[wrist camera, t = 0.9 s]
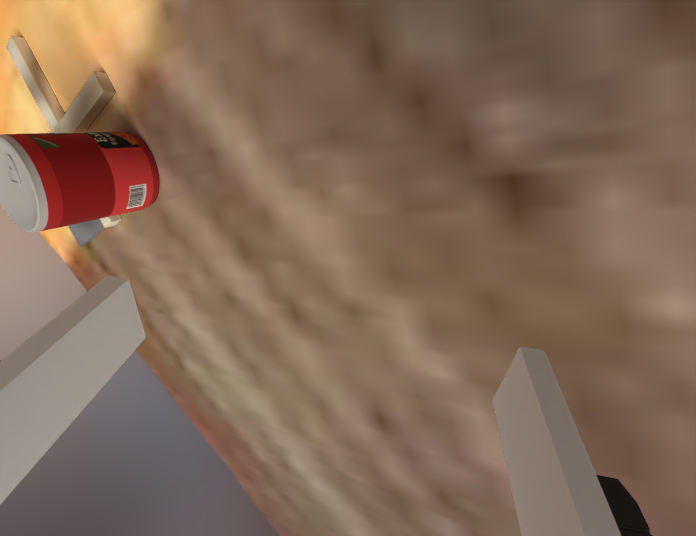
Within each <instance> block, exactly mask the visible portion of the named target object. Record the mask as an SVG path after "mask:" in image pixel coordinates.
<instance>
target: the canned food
mask: <svg viewBox="0 0 696 536" xmlns="http://www.w3.org/2000/svg"><path fill="white" fill-rule="evenodd" d="M158 191H159V176H158V170H157V167H156V163H155V161H154V158H153V156H152V154H151V153H150V151H149V149H148V148H147V147H146V145H145V144H144V143H143V142H142V141H141V140H140V139H139V138H137V137H136V136H133V135H131V134H127V133H124V132H97V133H41V134H5V135H0V204H1V206H2V207H3V209H4V210H5V212H6V213H7V214H8V216H9V217H10V218H11V220H12V221H13V222H14V223H15V224H16V225H17V226H18V227H20V228H21V229H22V230H24V231H27V232H35V231H44V230H48V229H54V228H59V227H63V226H68V225H73V224H77V223H82V222H87V221H91V220H96V219H100V218H105V217H110V216H114V215H119V214H123V213H128V212H133V211H137V210H142V209H144V208H146V207H148V206H149V205H151V204H152V203H153V202H154V201H155V200H156V198H157V195H158Z"/></svg>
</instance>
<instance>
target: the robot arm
mask: <svg viewBox="0 0 696 536" xmlns="http://www.w3.org/2000/svg"><path fill="white" fill-rule="evenodd" d="M145 338H146V336H145V333H144V330H143V326H142V323H141V319H140V316H139V313H138V309H137V306H136V302H135V299H134V296H133V292H132V289H131V286H130V282H129V279H125V278H119V277H113V276H106V277H105V278H104V279H103V280H101V281H100V282H99V283H98V284H96V285H95V286H94V287H93V288H91V289H90V290H89V291H88V292H86V293H85V294H84V295H83V296H81V297H80V298H79V299H78V300H76V301H75V302H74V303H73V304H71V305H70V306H69V307H68V308H66V309H65V310H64V311H63V312H61V313H60V314H59V315H58V316H57V317H56V318H54V319H53V320H51V321H50V322H49V323H48V324H47V325H45V326H44V327H43V328H42V329H40V330H39V331H38V332H36V333H35V334H34V335H33V336H31V337H30V338H29V339H28V340H26V341H25V342H24V343H23V344H21V345H20V346H19V347H18V348H16V349H15V350H14V351H13V352H12V353H10V354H9V355H8V356H6V357H5V358H4V359H3V360H1V361H0V504H1V503H2V502H3V501H4V500H5V499H6V497H7V496H8V495H9V494H10V493H11V492H12V490H13V489H14V488H15V487H16V486H17V485H18V484H19V482H20V481H21V480H22V479H23V478H24V477H25V476H26V474H27V473H28V472H29V471H30V470H31V469H32V467H33V466H34V465H35V464H36V463H37V462H38V461H39V459H40V458H41V457H42V456H43V455H44V454H45V453H46V451H47V450H48V449H49V448H50V447H51V446H52V445H53V443H54V442H55V441H56V440H57V439H58V437H60V435H61V434H62V433H63V432H64V431H65V430H66V428H67V427H68V426H69V425H70V424H71V422H73V420H74V419H75V418H76V417H77V416H78V415H79V414H80V412H81V411H82V410H83V409H84V408H85V406H87V404H88V403H89V402H90V401H91V399H92V398H93V397H94V396H95V395H96V394H97V393H98V392H99V391H100V389H101V388H102V387H103V386H104V385H105V384H106V383H107V381H108V380H109V379H110V378H111V377H112V376H113V375H114V373H115V372H116V371H117V370H118V369H119V368H120V366H121V365H122V364H123V363H124V362H125V361H126V360H127V358H128V357H129V356H130V355H131V354H132V353H133V352H134V350H135V349H136V348H137V347H138V346H139V345H140V344H141V342H142V341H143V340H144V339H145ZM492 402H493V407H494V411H495V416H496V420H497V425H498V430H499V434H500V439H501V443H502V448H503V452H504V457H505V462H506V466H507V471H508V475H509V480H510V485H511V489H512V494H513V498H514V503H515V508H516V512H517V517H518V521H519V526H520V530H521V535H522V536H653V535H651V534H650V532H649V531H650V529H649V527H648V525H647V523H646V521H645V519H644V516H643V514H642V512H641V510H640V508H639V506H638V504H637V502H636V501H635V500H634V499H633V497H632V496H631V495H630V494H629V492H628V491H627V490H626V489H625V487H624V486H623V485H622V484H621V482H620V481H619V480H618V479H615V478H610V477H604V476H599V475H596V473H595V471H594V468H593V466H592V464H591V461H590V459H589V456H588V454H587V452H586V449H585V447H584V444H583V442H582V440H581V437H580V435H579V432H578V430H577V428H576V425H575V423H574V420H573V418H572V416H571V413H570V411H569V408H568V406H567V404H566V401H565V399H564V396H563V394H562V392H561V389H560V387H559V384H558V382H557V380H556V377H555V375H554V372H553V370H552V368H551V365H550V363H549V360H548V358H547V356H546V353H545V351H543V350H537V349H531V348H525V347H519V349H518V351H517V353H516V355H515V357H514V359H513V361H512V363H511V365H510V367H509V369H508V371H507V373H506V375H505V377H504V379H503V381H502V383H501V385H500V387H499V389H498V391H497V393H496V395H495V397H494V398H493V400H492Z"/></svg>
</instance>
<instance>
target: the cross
mask: <svg viewBox="0 0 696 536" xmlns="http://www.w3.org/2000/svg"><path fill="white" fill-rule="evenodd" d="M6 48H7V50H8V52H9V53H10V55H11V57H12V59H13V61H14V63H15V64H16V66H17V68H18V70H19V72H20V74H21V75H22V77H23V79H24V81H25V83H26V85H27V86H28V88H29V90H30V92H31V94H32V96H33V97H34V99H35V101H36V103H37V105H38V107H39V108H40V110H41V112H42V114H43V116H44V118H45V119H46V121H47V123H48V125H49V127H50V129H51V130H52V133H85V131H86V130H87V129H88V128H89V126H90V125H91V124H92V122H93V121H94V120H95V119H96V117H97V116H98V115H99V113H100V112H101V111H102V109H103V108H104V107H105V106H106V104H107V103H108V102H109V100H110V99H111V98H112V97H113V95H114V94H115V93H116V92H115V90H114V88H113V86H112V84H111V82H110V80H109V78H108V76H107V74H106V73H102V72H93V73H92V74H91V76H90V77H89V79H88V80H87V81H86V83H85V84H84V86H83V87H82V89H81V90H80V92H79V93H78V95H77V96H76V98H75V99H74V101H73V102H72V104H71V105H70V107H69V108H68V110H67V111H66V113H64V111H63V109H62V108H61V106H60V104H59V102H58V100H57V98H56V96H55V95H54V93H53V91H52V89H51V87H50V85H49V83H48V81H47V80H46V78H45V76H44V74H43V72H42V70H41V68H40V67H39V65H38V63H37V61H36V59H35V57H34V55H33V54H32V52H31V50H30V48H29V46H28V44H27V42H26V41H25V39H24V38H22V37H16V36H10V39H9V41H8V44H7V46H6ZM121 220H122V219H121V217H120V216H119V215H114V216H110V217H105V218H100V219H96V220H91V221H87V222H82V223H77V224H73V225H68V226H69V228H70V230H71V232H72V233H73V235H74V237H75V239H76V240H77V242H78V244H79V246H80V247H82V246H84V245H85V244H86V243H88V242H89V241H90V240H91V239H92V238H94V237H95V236H96V235H97V234H98V233H100V232H101V231H102V230H103V229H104V228H106V227H110V226H114V225H116V224H117V223H118V222H119V221H121Z"/></svg>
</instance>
